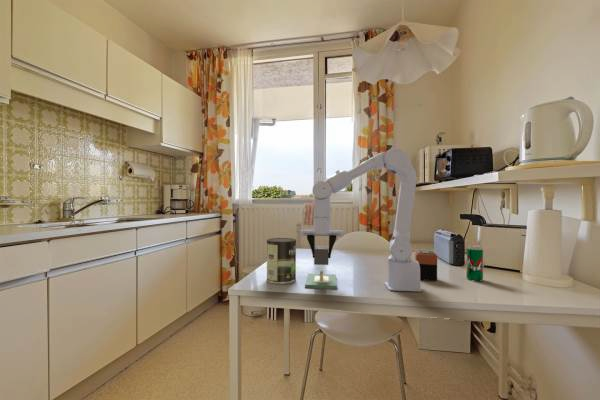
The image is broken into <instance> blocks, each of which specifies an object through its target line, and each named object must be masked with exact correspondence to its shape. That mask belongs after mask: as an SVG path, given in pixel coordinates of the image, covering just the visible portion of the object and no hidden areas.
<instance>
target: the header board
mask: <svg viewBox="0 0 600 400" xmlns="http://www.w3.org/2000/svg"><path fill="white" fill-rule="evenodd" d="M337 283H338V281H337V274H334V273H333V274H330V273H329V274H328V273H324V270H322V269H320V271H319V273H307V277H306V280H305V282H304V288H305V289H326V290H328V289H329V290H337V289H338V284H337Z"/></svg>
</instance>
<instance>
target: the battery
mask: <svg viewBox="0 0 600 400" xmlns="http://www.w3.org/2000/svg"><path fill="white" fill-rule="evenodd" d="M414 254H415V255H414V256H415V257H414V260H416V261H418V262H419V265H420V281H432V282H437V281H438V255H437V254H436V253H435V251H434V250H427V252H424V250H418V251H417V252H416V251H415V253H414Z"/></svg>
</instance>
